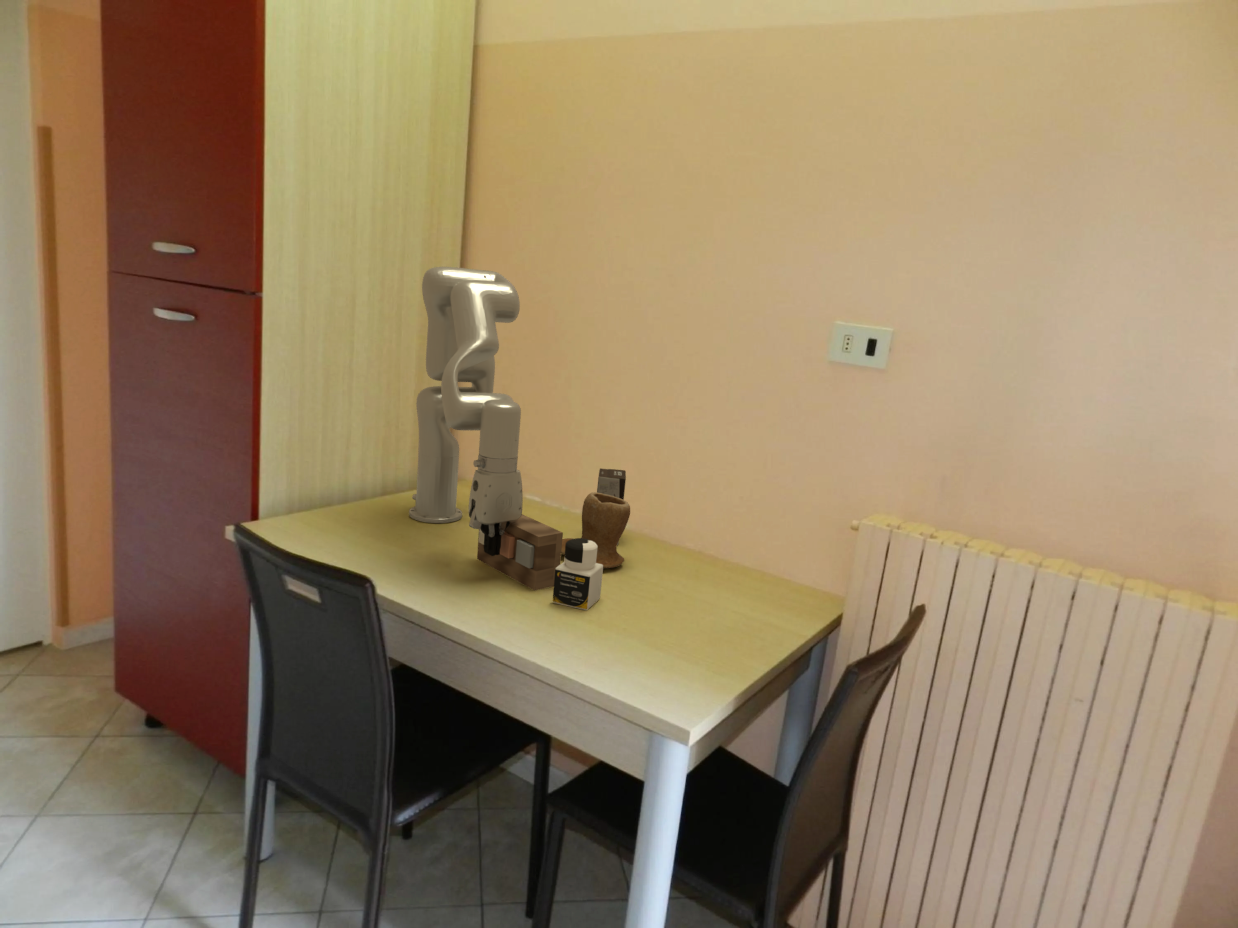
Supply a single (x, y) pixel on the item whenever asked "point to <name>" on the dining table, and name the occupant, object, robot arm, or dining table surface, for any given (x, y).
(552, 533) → the wooden button box
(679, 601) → the dining table surface
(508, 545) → the terracotta key
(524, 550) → the slate key
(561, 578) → the medicine bottle
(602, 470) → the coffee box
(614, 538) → the stone cup
